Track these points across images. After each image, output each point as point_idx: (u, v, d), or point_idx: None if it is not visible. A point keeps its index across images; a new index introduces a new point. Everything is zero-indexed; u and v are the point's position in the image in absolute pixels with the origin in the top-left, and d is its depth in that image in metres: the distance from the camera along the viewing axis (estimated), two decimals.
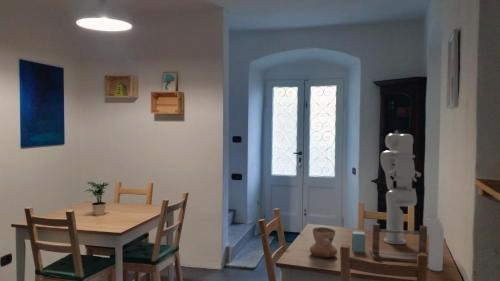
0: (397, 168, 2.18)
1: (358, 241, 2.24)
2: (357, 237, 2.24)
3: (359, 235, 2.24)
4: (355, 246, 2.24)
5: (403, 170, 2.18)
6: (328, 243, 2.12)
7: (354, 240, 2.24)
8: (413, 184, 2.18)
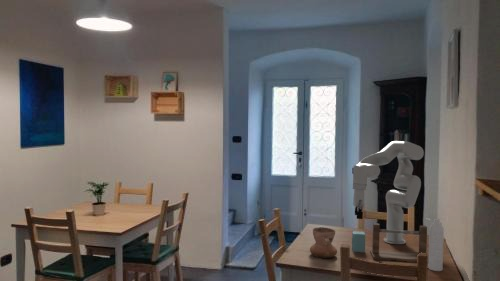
0: (363, 199, 2.21)
1: (358, 241, 2.24)
2: (357, 237, 2.24)
3: (359, 235, 2.24)
4: (355, 246, 2.24)
5: None
6: (328, 243, 2.12)
7: (354, 240, 2.24)
8: None
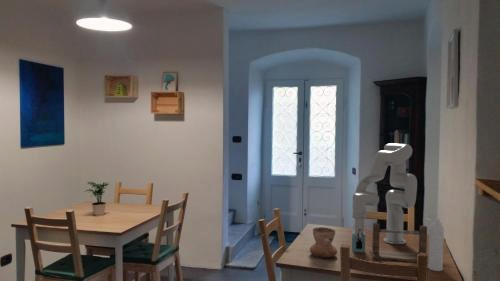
0: (363, 228, 2.22)
1: None
2: None
3: None
4: (355, 246, 2.24)
5: None
6: (328, 243, 2.12)
7: (354, 240, 2.24)
8: None
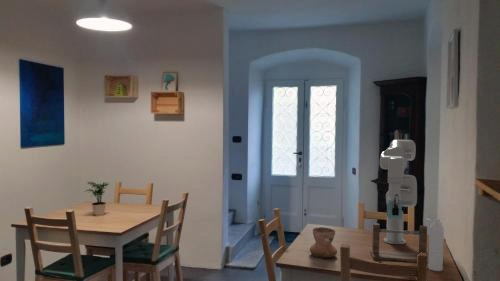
0: (400, 193, 2.11)
1: None
2: None
3: None
4: (391, 212, 2.13)
5: None
6: (328, 243, 2.12)
7: (390, 206, 2.13)
8: None
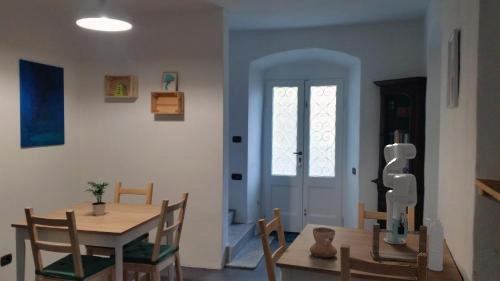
0: (405, 212, 2.09)
1: None
2: None
3: None
4: (397, 231, 2.12)
5: None
6: (328, 243, 2.12)
7: (395, 225, 2.12)
8: None
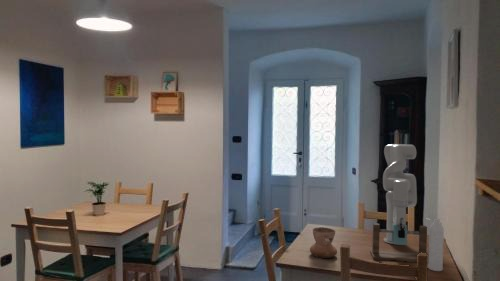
0: (405, 216, 2.10)
1: None
2: (398, 228, 2.12)
3: None
4: (397, 238, 2.12)
5: None
6: (328, 243, 2.12)
7: (395, 232, 2.12)
8: None
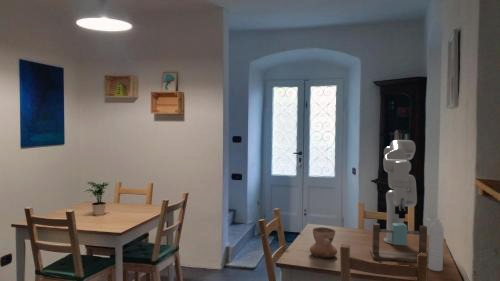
0: (406, 197, 2.09)
1: (399, 233, 2.12)
2: (398, 229, 2.12)
3: (400, 227, 2.12)
4: (396, 239, 2.12)
5: None
6: (328, 243, 2.12)
7: (395, 232, 2.12)
8: None
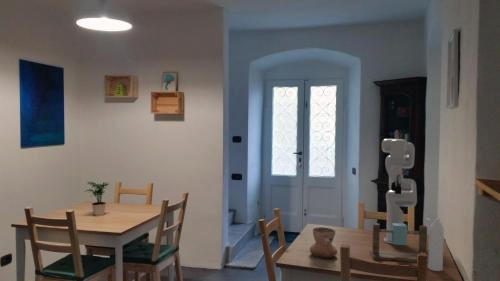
0: None
1: (399, 233, 2.12)
2: (398, 229, 2.12)
3: (400, 227, 2.12)
4: (397, 238, 2.12)
5: None
6: (328, 243, 2.12)
7: (395, 232, 2.12)
8: None
